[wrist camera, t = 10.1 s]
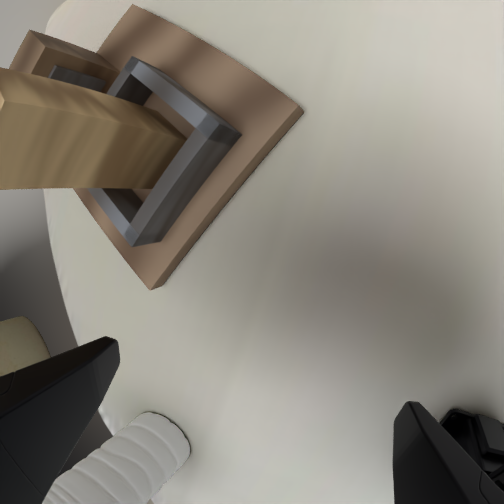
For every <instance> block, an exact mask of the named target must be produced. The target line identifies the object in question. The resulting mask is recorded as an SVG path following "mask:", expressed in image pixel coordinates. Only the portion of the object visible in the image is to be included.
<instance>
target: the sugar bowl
mask: <svg viewBox="0 0 504 504" xmlns="http://www.w3.org/2000/svg"><path fill="white" fill-rule="evenodd" d="M48 358H51V356H50V353H49V351H48V348H47V346H46V344H45V342H44V340H43V338H42V336H41V334H40V333H39V331H38V330H37V328H36V327H35V325H34V324H33V323H32V322H31V321H30V320H29V319H28V318H26V317H24V316H19V317H15V318H12V319H8V320H5V321H1V322H0V376H3V375H6V374H8V373H11V372H15V371H16V370H19V369H22V368H24V367H27V366H30V365H32V364H35V363H38V362H40V361H43V360H45V359H48Z"/></svg>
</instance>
